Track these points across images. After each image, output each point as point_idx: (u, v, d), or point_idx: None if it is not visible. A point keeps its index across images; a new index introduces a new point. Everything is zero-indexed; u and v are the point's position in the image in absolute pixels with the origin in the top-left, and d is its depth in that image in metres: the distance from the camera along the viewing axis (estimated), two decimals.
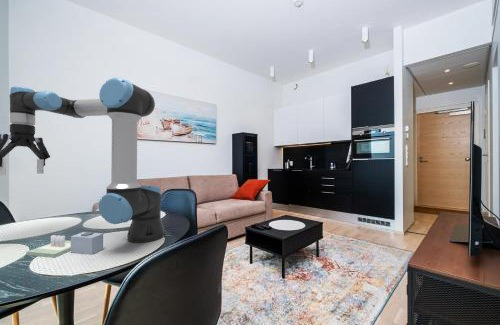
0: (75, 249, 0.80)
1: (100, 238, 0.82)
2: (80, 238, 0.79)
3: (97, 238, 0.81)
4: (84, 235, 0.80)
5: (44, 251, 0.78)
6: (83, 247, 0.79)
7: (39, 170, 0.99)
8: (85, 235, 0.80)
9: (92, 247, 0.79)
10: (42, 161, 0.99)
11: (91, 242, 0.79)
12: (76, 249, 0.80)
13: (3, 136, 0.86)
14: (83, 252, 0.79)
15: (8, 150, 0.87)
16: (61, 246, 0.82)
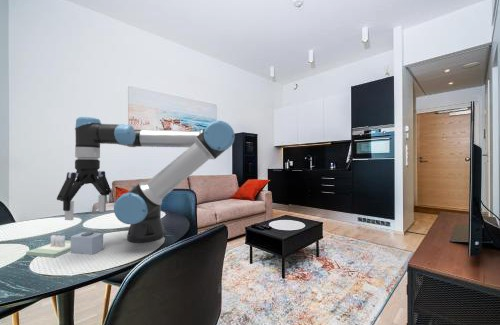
0: (75, 249, 0.80)
1: (100, 238, 0.82)
2: (80, 238, 0.79)
3: (97, 238, 0.81)
4: (84, 235, 0.80)
5: (44, 251, 0.78)
6: (83, 247, 0.79)
7: (101, 207, 0.88)
8: (85, 235, 0.80)
9: (92, 247, 0.79)
10: (104, 197, 0.88)
11: (91, 242, 0.79)
12: (76, 249, 0.80)
13: (71, 175, 0.75)
14: (83, 252, 0.79)
15: (76, 191, 0.76)
16: (61, 246, 0.82)
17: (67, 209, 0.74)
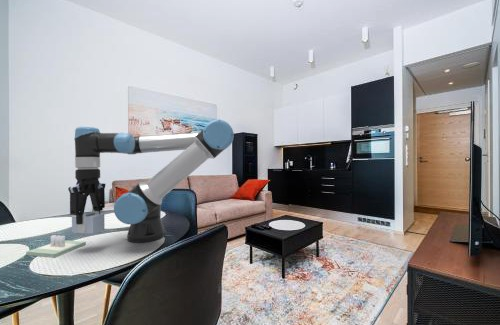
0: (76, 229, 0.80)
1: (101, 218, 0.82)
2: None
3: (98, 218, 0.81)
4: None
5: (44, 251, 0.78)
6: None
7: None
8: (86, 215, 0.80)
9: (93, 227, 0.79)
10: (98, 213, 0.84)
11: (92, 222, 0.79)
12: (77, 228, 0.80)
13: (73, 190, 0.75)
14: None
15: (84, 203, 0.79)
16: (61, 246, 0.82)
17: (80, 223, 0.78)
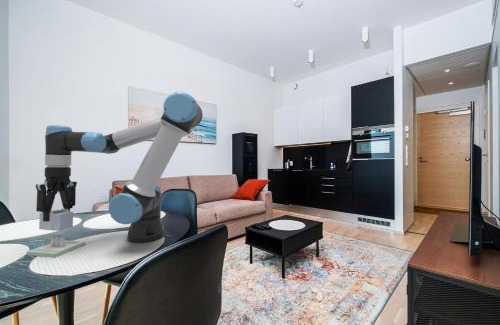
0: (43, 226, 0.81)
1: (69, 216, 0.83)
2: None
3: (66, 215, 0.82)
4: (53, 212, 0.81)
5: (44, 251, 0.78)
6: None
7: None
8: (54, 212, 0.81)
9: (60, 224, 0.80)
10: None
11: (59, 219, 0.80)
12: None
13: (40, 188, 0.76)
14: None
15: (51, 201, 0.80)
16: (61, 246, 0.82)
17: (46, 220, 0.79)
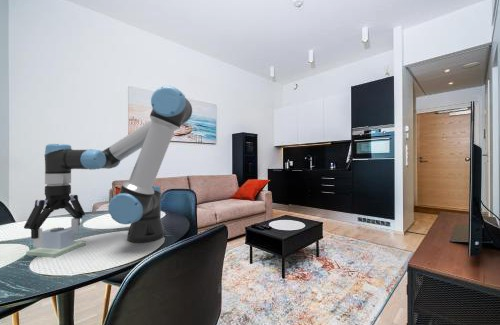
0: (44, 244, 0.81)
1: (70, 234, 0.83)
2: (49, 233, 0.80)
3: (67, 233, 0.82)
4: (53, 230, 0.81)
5: (44, 251, 0.78)
6: (52, 242, 0.80)
7: (74, 231, 0.89)
8: (54, 230, 0.81)
9: (61, 242, 0.80)
10: (77, 221, 0.89)
11: (60, 237, 0.80)
12: (45, 244, 0.81)
13: (39, 203, 0.76)
14: (52, 247, 0.80)
15: (44, 218, 0.77)
16: None
17: (35, 237, 0.75)
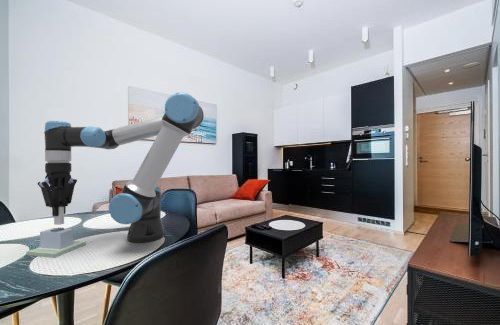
0: (44, 244, 0.81)
1: (70, 234, 0.83)
2: (49, 233, 0.80)
3: (67, 233, 0.82)
4: (53, 230, 0.81)
5: (44, 251, 0.78)
6: (52, 242, 0.80)
7: None
8: (54, 230, 0.81)
9: (61, 242, 0.80)
10: (62, 209, 0.83)
11: (60, 237, 0.80)
12: (45, 244, 0.81)
13: (43, 185, 0.77)
14: (52, 247, 0.80)
15: (57, 196, 0.81)
16: None
17: (56, 214, 0.81)
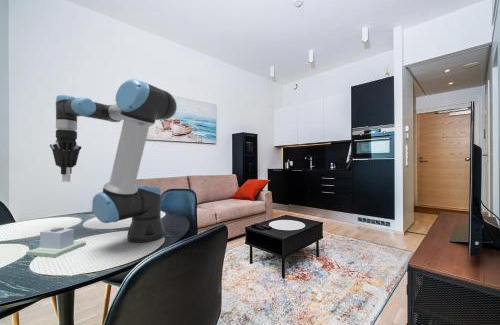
0: (44, 244, 0.81)
1: (70, 234, 0.83)
2: (49, 233, 0.80)
3: (67, 233, 0.82)
4: (53, 230, 0.81)
5: (44, 251, 0.78)
6: (52, 242, 0.80)
7: None
8: (54, 230, 0.81)
9: (61, 242, 0.80)
10: (69, 169, 1.00)
11: (60, 237, 0.80)
12: (45, 244, 0.81)
13: (54, 147, 0.94)
14: (52, 247, 0.80)
15: (65, 158, 0.98)
16: None
17: (64, 173, 0.98)
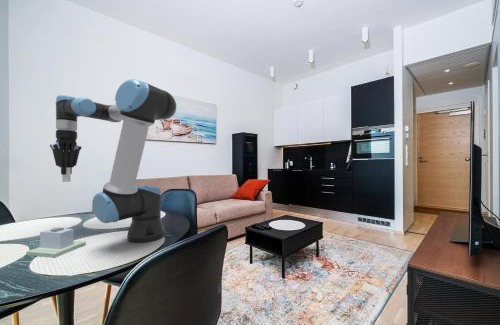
0: (44, 244, 0.81)
1: (70, 234, 0.83)
2: (49, 233, 0.80)
3: (67, 233, 0.82)
4: (53, 230, 0.81)
5: (44, 251, 0.78)
6: (52, 242, 0.80)
7: None
8: (54, 230, 0.81)
9: (61, 242, 0.80)
10: (69, 169, 1.00)
11: (60, 237, 0.80)
12: (45, 244, 0.81)
13: (54, 147, 0.94)
14: (52, 247, 0.80)
15: (65, 158, 0.98)
16: None
17: (64, 173, 0.98)
